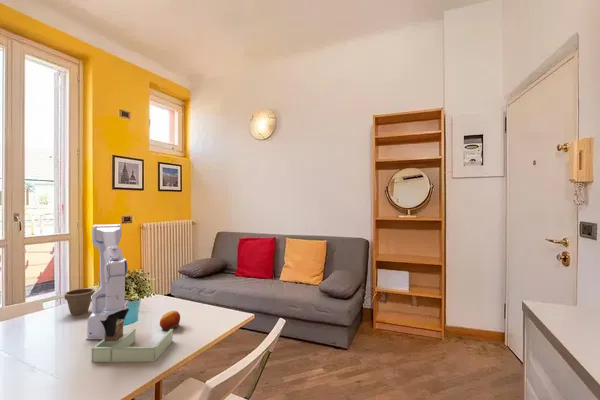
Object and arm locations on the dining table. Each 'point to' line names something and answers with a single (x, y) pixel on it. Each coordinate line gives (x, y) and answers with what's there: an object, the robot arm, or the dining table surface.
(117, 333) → the walnut box
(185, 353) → the dining table surface
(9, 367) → the dining table surface
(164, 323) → the fruit
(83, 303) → the flower pot
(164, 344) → the divider frame
